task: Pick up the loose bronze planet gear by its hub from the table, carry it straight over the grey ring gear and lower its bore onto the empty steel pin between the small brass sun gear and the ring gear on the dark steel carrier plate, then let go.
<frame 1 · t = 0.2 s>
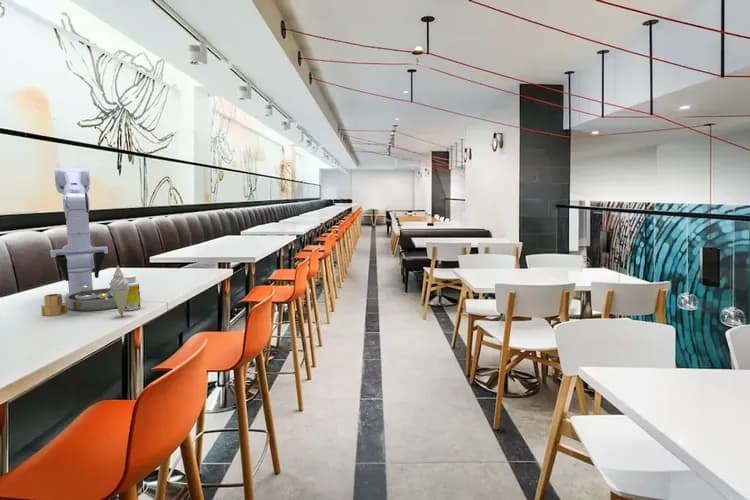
hand: (82, 279, 148), 10 cm above the table, tool pointing down, fingers open, 7 cm apart
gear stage: (103, 303, 160), on the table
ice cream cone: (121, 316, 143), on the table
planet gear: (54, 313, 147), on the table
beer glass: (130, 309, 152), on the table
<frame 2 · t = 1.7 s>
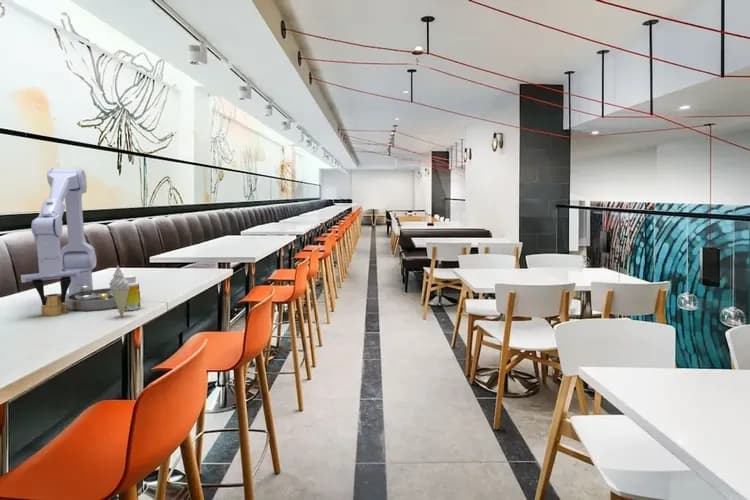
hand: (53, 303, 147), 3 cm above the table, tool pointing down, fingers closed on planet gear, 4 cm apart
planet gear: (54, 313, 147), on the table, touching gripper
everything else where it was.
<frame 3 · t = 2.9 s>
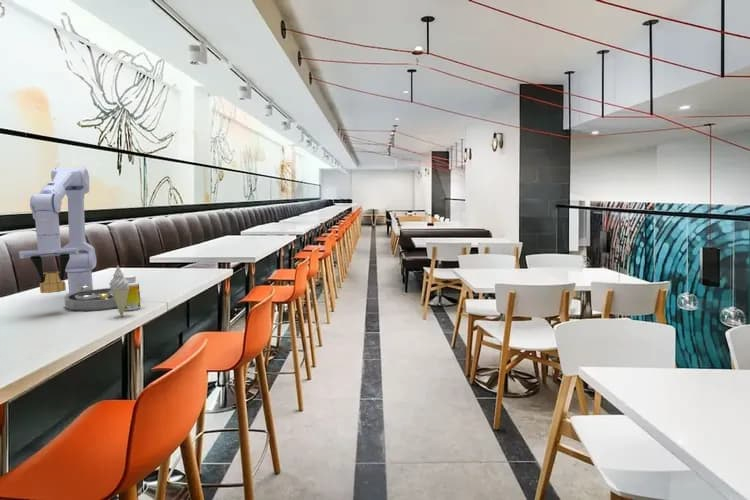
hand: (52, 280, 146), 10 cm above the table, tool pointing down, fingers closed on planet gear, 4 cm apart
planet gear: (53, 291, 146), point 7 cm above the table, touching gripper
everything else where it was.
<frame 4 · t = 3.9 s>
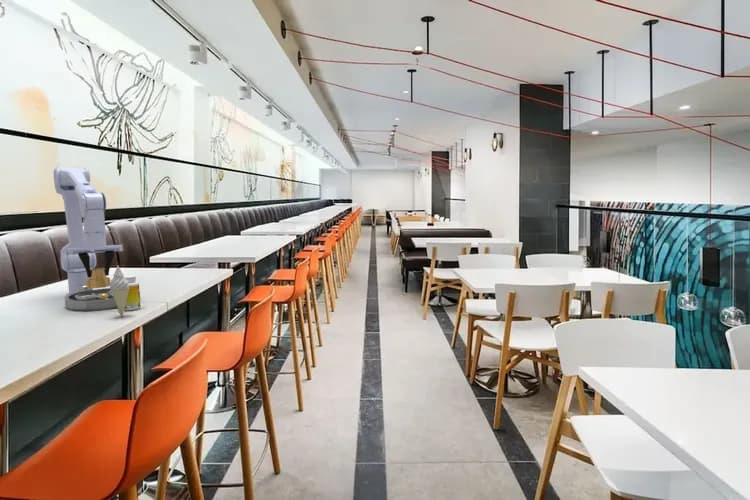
hand: (98, 276, 153), 10 cm above the table, tool pointing down, fingers closed on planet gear, 4 cm apart
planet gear: (98, 286, 154), point 7 cm above the table, touching gripper
everything else where it was.
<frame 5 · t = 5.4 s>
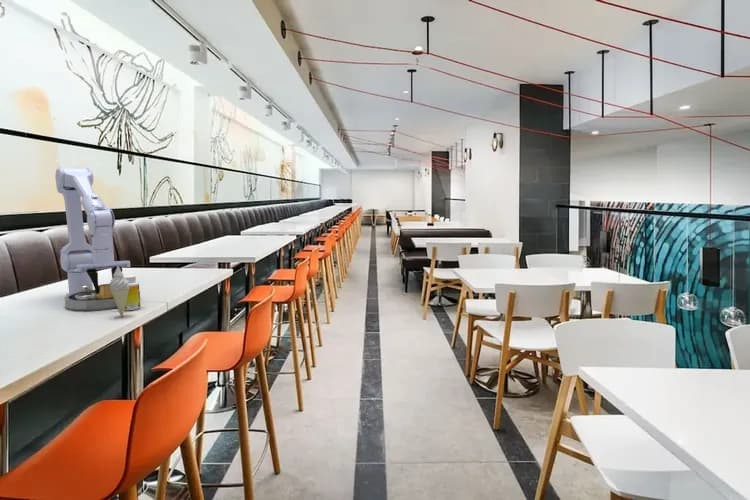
hand: (106, 291, 155), 5 cm above the table, tool pointing down, fingers closed on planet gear, 4 cm apart
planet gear: (106, 302, 155), point 1 cm above the table, touching gripper
everything else where it was.
when the fingers open (4 cm above the table, at t = 6.0 s): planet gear stays where it is, resting on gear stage.
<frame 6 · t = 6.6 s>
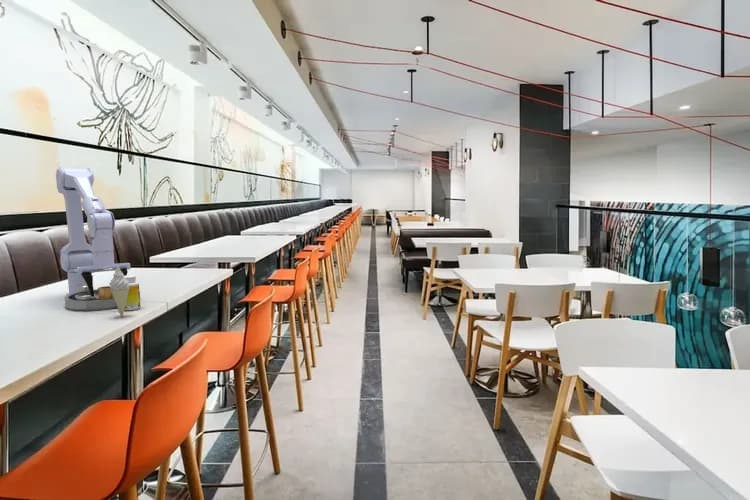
hand: (106, 294, 155), 4 cm above the table, tool pointing down, fingers open, 7 cm apart
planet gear: (107, 304, 155), point 1 cm above the table, touching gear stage
everything else where it was.
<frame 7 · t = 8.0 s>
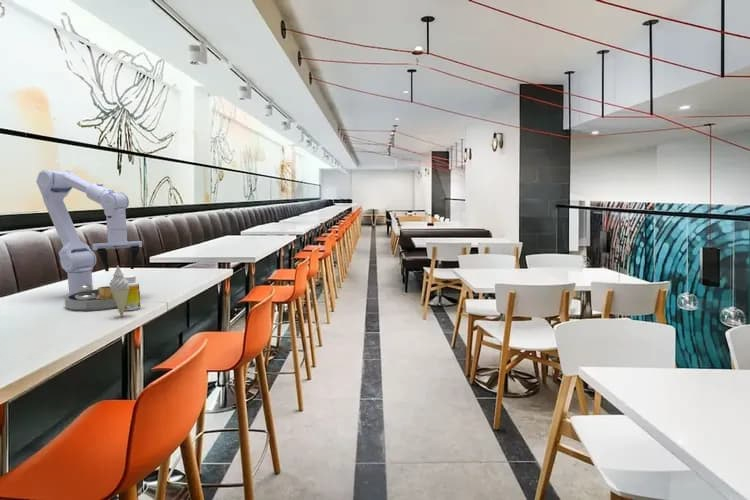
hand: (119, 269, 166), 10 cm above the table, tool pointing down, fingers open, 7 cm apart
nothing on the table moved.
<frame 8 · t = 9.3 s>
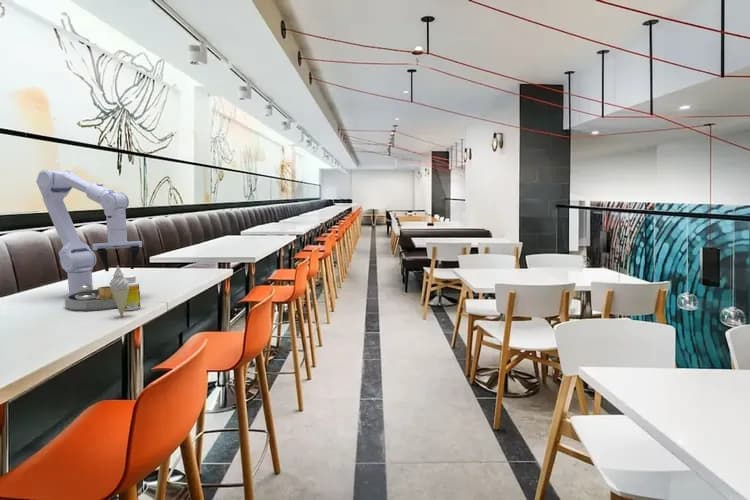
hand: (119, 269, 166), 10 cm above the table, tool pointing down, fingers open, 7 cm apart
nothing on the table moved.
at the end: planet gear 0.2 cm from the target spot on the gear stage, point 0.6 cm above the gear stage's base; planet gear tilted 0°; the gripper is holding nothing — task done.
